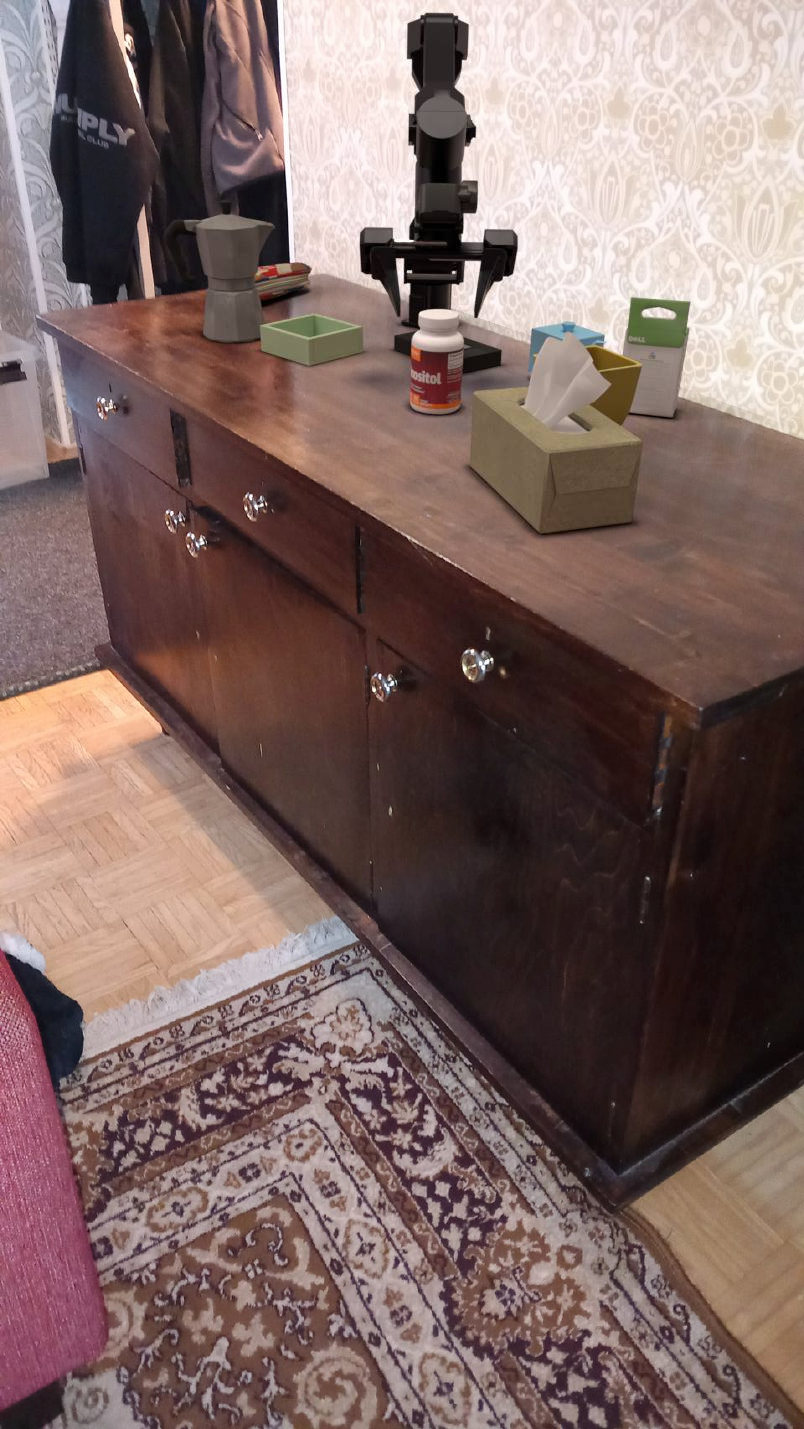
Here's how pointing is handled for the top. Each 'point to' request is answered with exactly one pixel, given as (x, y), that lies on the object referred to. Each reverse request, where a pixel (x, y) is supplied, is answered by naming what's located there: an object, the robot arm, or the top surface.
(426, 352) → the pill bottle
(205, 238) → the coffeepot
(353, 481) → the top surface
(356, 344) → the box
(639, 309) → the ink box
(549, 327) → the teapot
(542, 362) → the tissue box
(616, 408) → the flower pot
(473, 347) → the vhs tape
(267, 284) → the pencil case
